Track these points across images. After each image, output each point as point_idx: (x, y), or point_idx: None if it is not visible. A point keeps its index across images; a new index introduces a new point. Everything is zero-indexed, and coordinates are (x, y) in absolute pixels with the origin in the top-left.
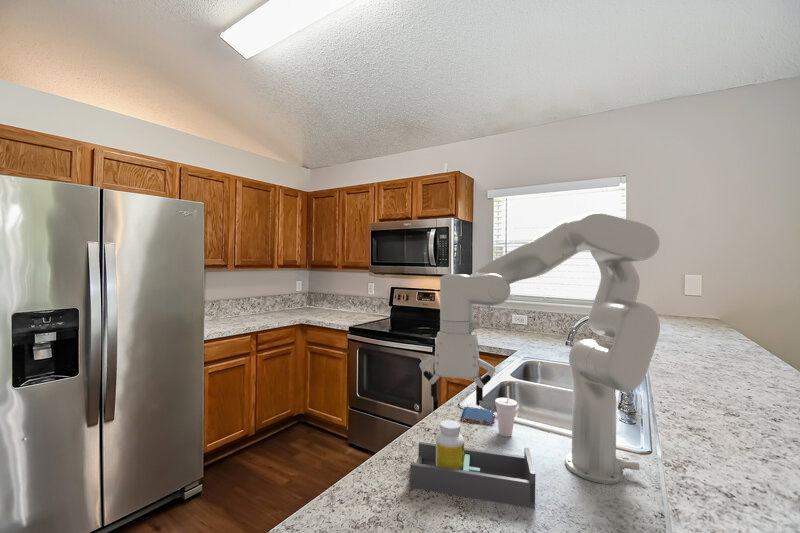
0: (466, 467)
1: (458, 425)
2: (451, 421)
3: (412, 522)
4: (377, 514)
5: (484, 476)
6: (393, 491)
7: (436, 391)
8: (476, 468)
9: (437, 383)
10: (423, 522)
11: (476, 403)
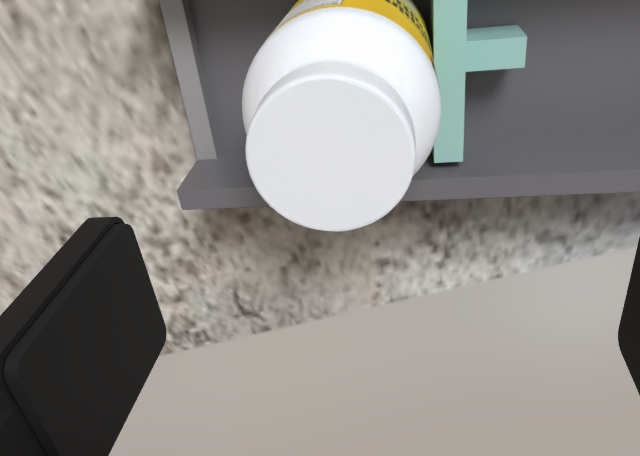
0: (451, 112)
1: (400, 164)
2: (328, 107)
3: (289, 312)
4: (179, 309)
5: (547, 194)
6: (166, 201)
7: (120, 425)
8: (506, 49)
9: (52, 440)
10: (320, 305)
11: (626, 356)
